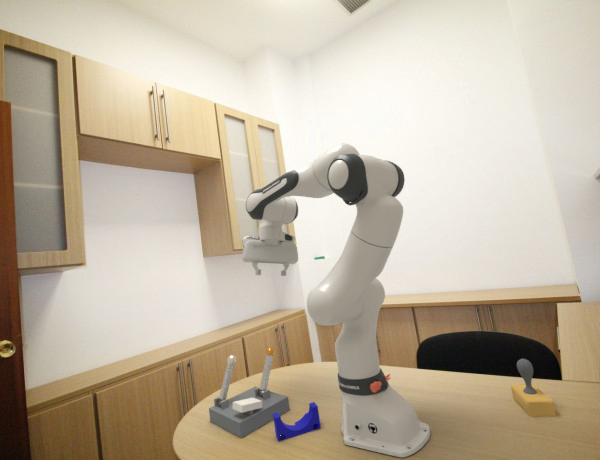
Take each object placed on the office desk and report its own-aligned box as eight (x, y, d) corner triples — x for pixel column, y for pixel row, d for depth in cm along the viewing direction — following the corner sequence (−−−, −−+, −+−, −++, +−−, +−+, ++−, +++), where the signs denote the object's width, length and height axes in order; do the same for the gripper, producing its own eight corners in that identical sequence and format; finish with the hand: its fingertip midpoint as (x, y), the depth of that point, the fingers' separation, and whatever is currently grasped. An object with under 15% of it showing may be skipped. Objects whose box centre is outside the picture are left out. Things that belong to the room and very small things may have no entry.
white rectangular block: (262, 407, 93) (262, 400, 94) (241, 412, 89) (242, 405, 89) (252, 404, 97) (252, 397, 97) (232, 408, 92) (232, 401, 93)
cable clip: (315, 421, 90) (312, 399, 91) (321, 428, 86) (317, 406, 87) (274, 434, 87) (271, 411, 87) (278, 442, 82) (275, 418, 83)
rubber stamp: (513, 398, 86) (503, 353, 87) (536, 397, 85) (527, 352, 86) (530, 417, 77) (519, 366, 78) (557, 416, 75) (545, 365, 77)
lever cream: (227, 406, 100) (238, 356, 105) (219, 406, 98) (231, 354, 104) (222, 404, 102) (234, 355, 108) (214, 404, 100) (226, 353, 106)
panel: (289, 409, 99) (286, 389, 100) (241, 438, 87) (238, 414, 88) (256, 398, 112) (254, 380, 113) (210, 421, 100) (207, 401, 100)
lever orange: (268, 397, 102) (277, 348, 108) (260, 396, 101) (270, 346, 106) (262, 395, 104) (271, 347, 110) (255, 394, 103) (265, 346, 108)
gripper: (244, 233, 109) (244, 272, 105) (299, 237, 117) (300, 274, 113) (240, 238, 114) (239, 276, 110) (292, 242, 122) (294, 277, 118)
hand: (271, 275), depth 111 cm, fingers open, 8 cm apart
